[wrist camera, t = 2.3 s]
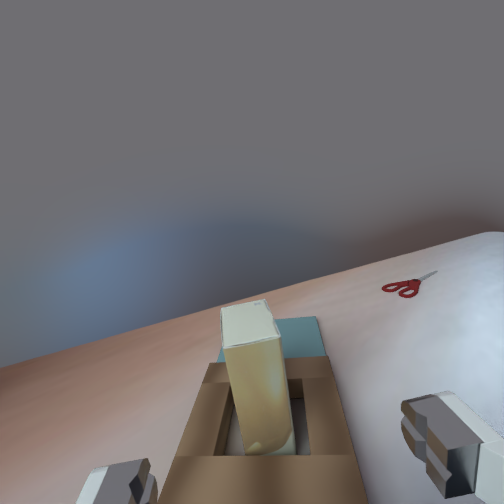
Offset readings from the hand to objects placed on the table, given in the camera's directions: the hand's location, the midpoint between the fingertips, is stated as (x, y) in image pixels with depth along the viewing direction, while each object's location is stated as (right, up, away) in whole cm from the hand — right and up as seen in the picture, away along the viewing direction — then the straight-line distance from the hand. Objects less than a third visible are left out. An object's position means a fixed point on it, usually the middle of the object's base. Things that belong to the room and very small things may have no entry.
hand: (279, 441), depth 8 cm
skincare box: (+1, -11, +16) cm, 19 cm away
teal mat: (+2, -7, +29) cm, 30 cm away
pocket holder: (+1, -11, +16) cm, 19 cm away
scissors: (+30, 0, +40) cm, 50 cm away
